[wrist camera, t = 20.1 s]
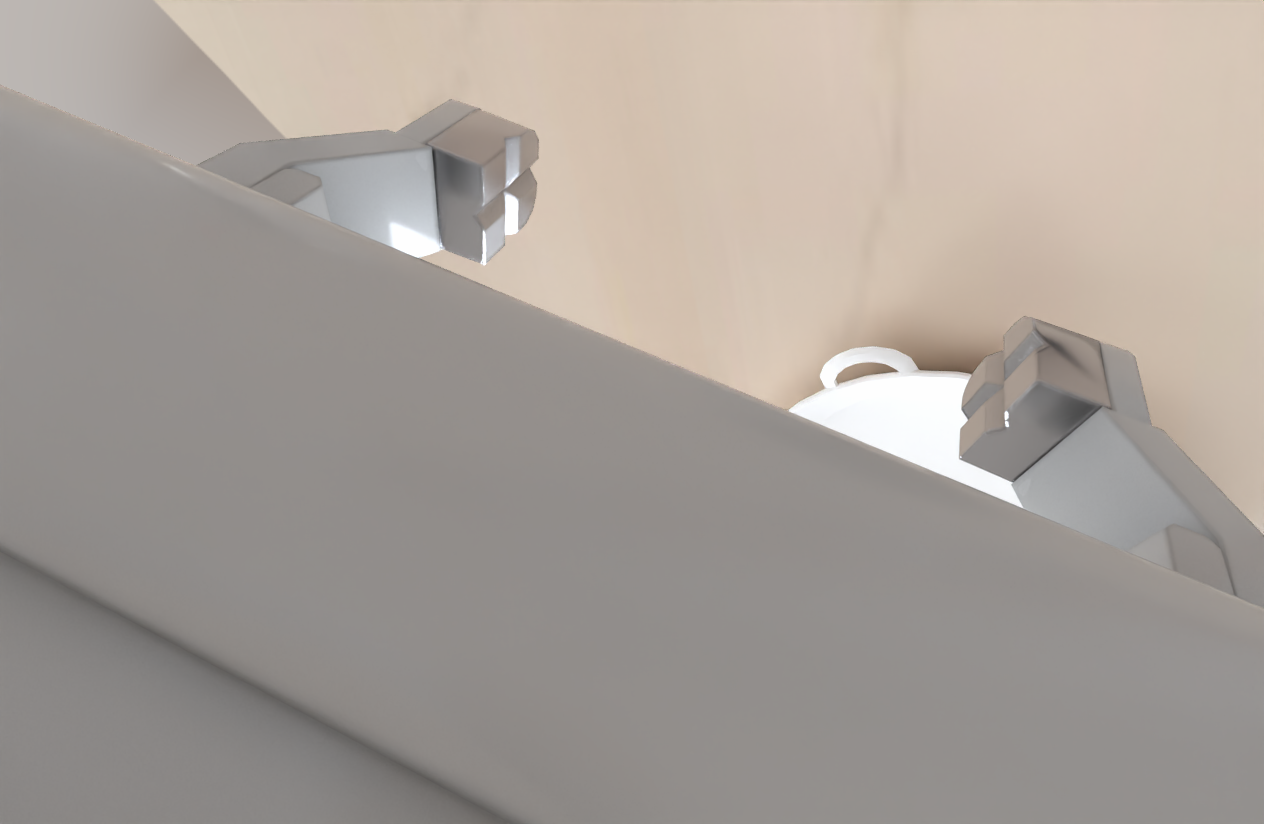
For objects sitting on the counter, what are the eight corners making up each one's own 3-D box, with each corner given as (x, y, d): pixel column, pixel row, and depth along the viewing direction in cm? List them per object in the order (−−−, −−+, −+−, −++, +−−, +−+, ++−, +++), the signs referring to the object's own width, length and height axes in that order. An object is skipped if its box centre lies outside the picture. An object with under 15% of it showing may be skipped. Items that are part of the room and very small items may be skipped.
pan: (694, 360, 53) (677, 390, 50) (1109, 254, 36) (1120, 290, 33) (831, 611, 67) (823, 646, 64) (1176, 620, 50) (1188, 669, 47)
